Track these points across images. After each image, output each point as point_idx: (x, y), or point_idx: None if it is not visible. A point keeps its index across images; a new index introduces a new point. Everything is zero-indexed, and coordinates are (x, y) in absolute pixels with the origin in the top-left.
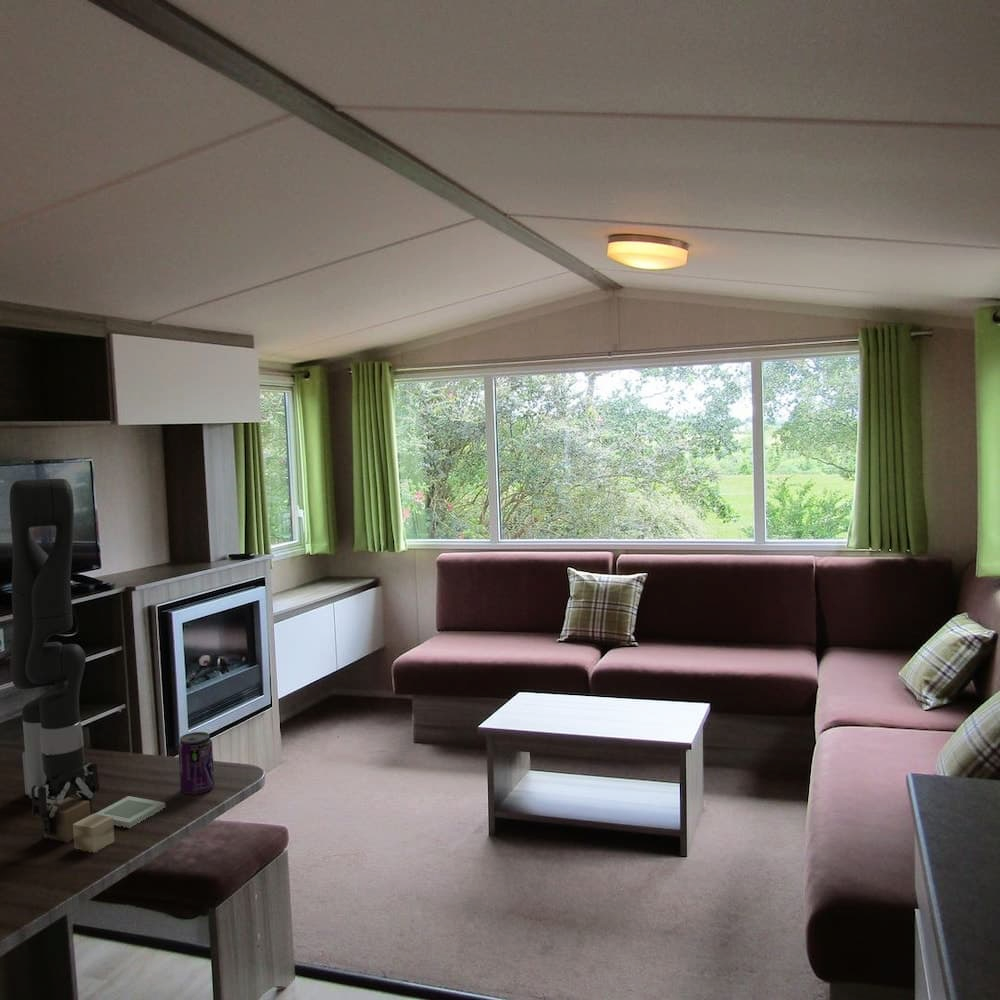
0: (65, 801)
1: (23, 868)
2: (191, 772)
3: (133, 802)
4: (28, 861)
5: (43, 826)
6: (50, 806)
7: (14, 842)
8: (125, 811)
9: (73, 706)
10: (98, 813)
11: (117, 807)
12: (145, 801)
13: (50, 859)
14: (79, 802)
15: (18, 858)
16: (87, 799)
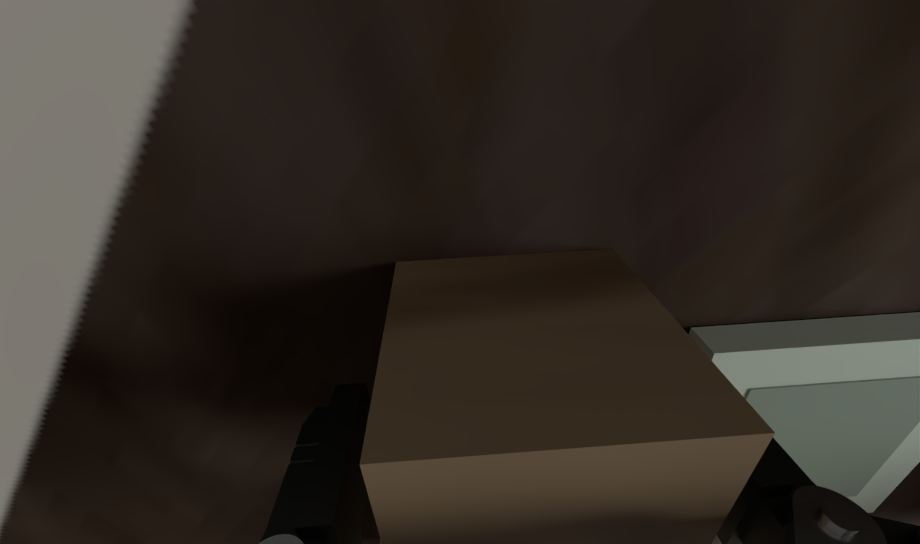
0: (636, 498)
1: (119, 445)
2: None
3: (901, 420)
4: (168, 413)
5: (291, 458)
6: (464, 478)
7: (212, 106)
8: None
9: None
10: (744, 367)
11: (832, 400)
12: (906, 451)
13: (259, 468)
14: None
15: (136, 348)
16: (741, 539)
